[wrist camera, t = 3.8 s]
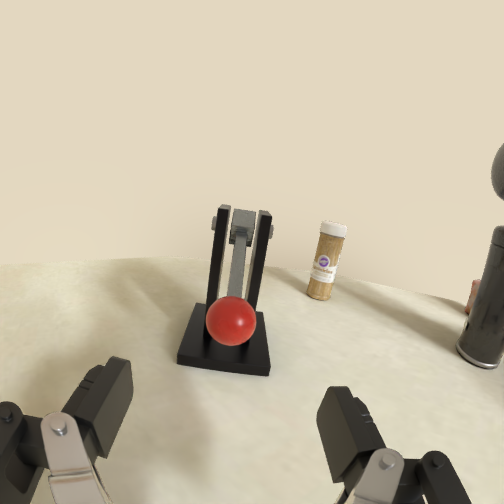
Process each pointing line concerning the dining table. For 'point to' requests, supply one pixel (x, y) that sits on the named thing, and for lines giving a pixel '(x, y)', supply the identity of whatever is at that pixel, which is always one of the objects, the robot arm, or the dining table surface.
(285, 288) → the dining table surface
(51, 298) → the dining table surface
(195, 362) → the bracket
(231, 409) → the dining table surface
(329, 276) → the sprinkles bottle
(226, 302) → the lever
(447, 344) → the dining table surface
